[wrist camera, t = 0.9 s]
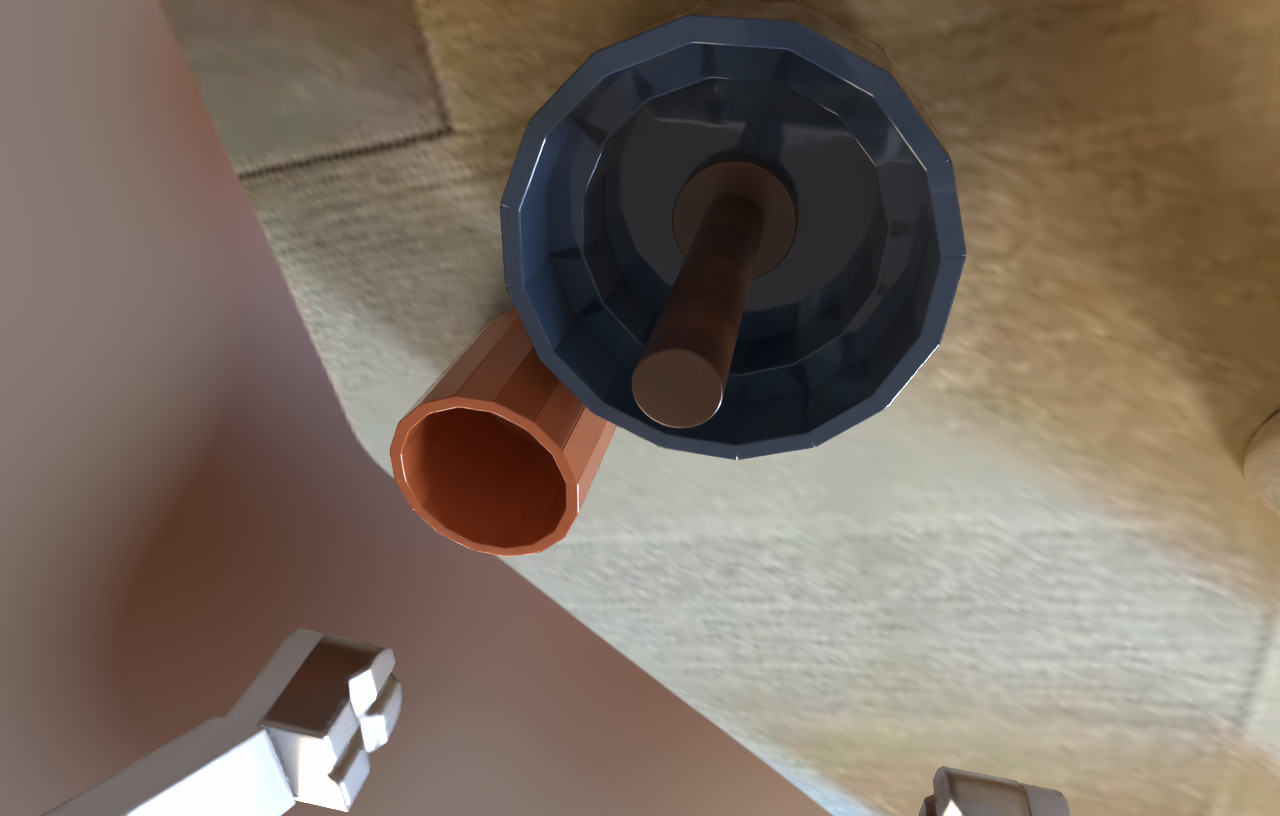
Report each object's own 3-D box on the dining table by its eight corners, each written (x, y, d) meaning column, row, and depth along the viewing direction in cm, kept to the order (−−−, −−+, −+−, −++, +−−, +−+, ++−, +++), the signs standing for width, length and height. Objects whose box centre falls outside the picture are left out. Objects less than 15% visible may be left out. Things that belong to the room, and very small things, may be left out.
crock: (465, 294, 34) (376, 383, 27) (629, 316, 32) (577, 414, 26) (479, 432, 38) (405, 538, 31) (624, 455, 37) (579, 571, 30)
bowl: (556, -14, 26) (484, 1, 21) (987, 12, 24) (1031, 35, 18) (564, 347, 34) (513, 425, 29) (888, 392, 32) (899, 487, 26)
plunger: (680, 148, 27) (582, 288, 17) (807, 159, 27) (788, 314, 16) (672, 265, 30) (583, 453, 19) (788, 279, 29) (761, 482, 18)
